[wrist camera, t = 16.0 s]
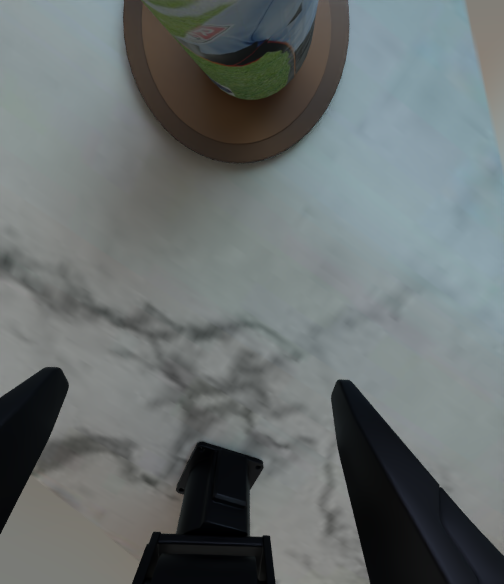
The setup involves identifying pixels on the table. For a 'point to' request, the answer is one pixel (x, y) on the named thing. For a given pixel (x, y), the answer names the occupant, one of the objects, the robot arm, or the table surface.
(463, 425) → the table surface
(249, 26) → the beverage can
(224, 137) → the coaster
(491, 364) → the table surface
